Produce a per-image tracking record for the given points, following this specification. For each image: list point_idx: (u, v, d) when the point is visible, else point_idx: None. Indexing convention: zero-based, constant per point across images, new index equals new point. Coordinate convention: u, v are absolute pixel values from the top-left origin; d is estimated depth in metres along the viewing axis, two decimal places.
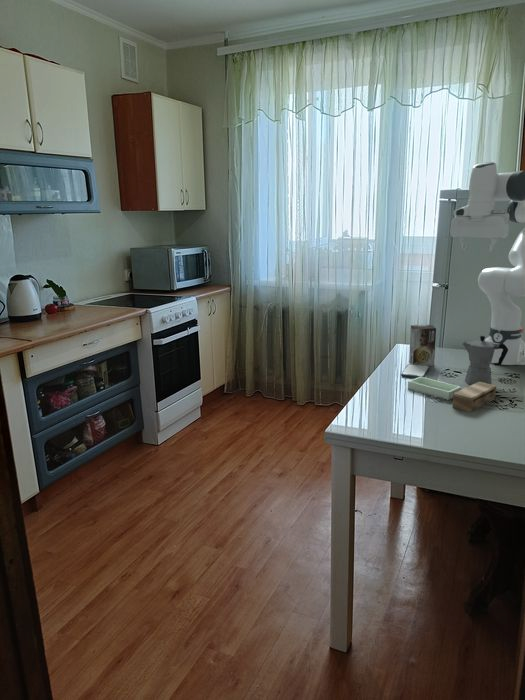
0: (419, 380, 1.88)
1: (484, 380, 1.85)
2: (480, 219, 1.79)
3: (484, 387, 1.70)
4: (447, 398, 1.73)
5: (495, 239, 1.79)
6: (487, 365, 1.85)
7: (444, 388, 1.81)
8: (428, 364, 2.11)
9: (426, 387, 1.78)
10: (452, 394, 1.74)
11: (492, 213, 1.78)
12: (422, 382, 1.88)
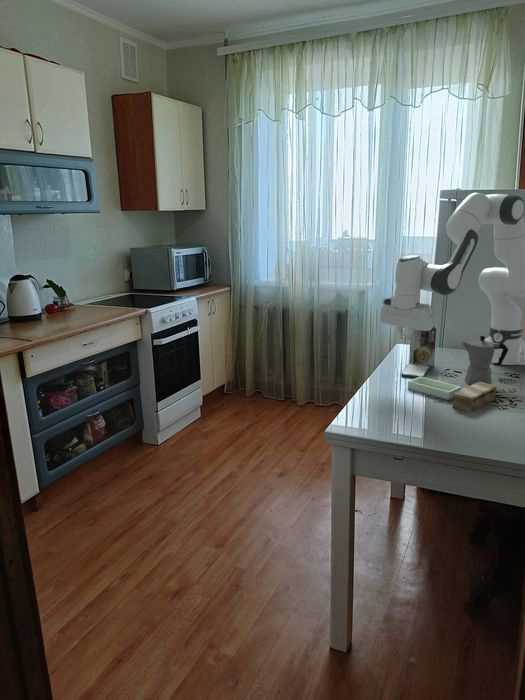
0: (419, 380, 1.88)
1: (484, 380, 1.85)
2: (406, 311, 1.80)
3: (484, 387, 1.70)
4: (447, 398, 1.73)
5: (412, 329, 1.83)
6: (487, 365, 1.85)
7: (444, 388, 1.81)
8: (428, 364, 2.11)
9: (426, 387, 1.78)
10: (452, 394, 1.74)
11: (417, 305, 1.79)
12: (422, 382, 1.88)
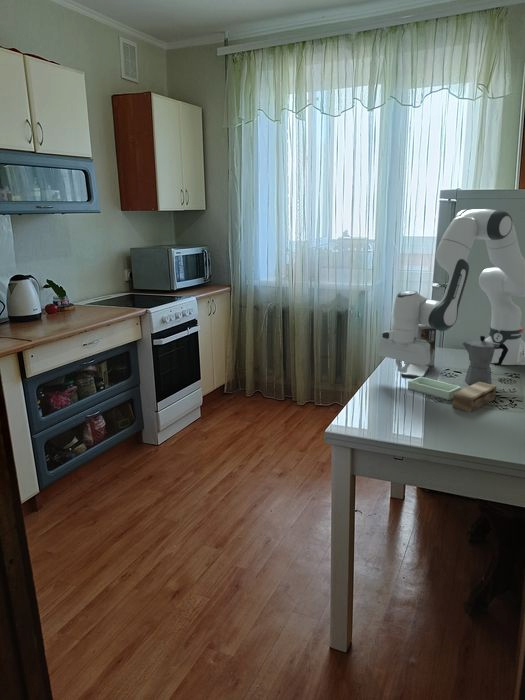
0: (419, 380, 1.88)
1: (484, 380, 1.85)
2: (403, 345, 1.84)
3: (484, 387, 1.70)
4: (447, 398, 1.73)
5: (408, 363, 1.86)
6: (487, 365, 1.85)
7: (444, 388, 1.81)
8: (428, 364, 2.11)
9: (426, 387, 1.78)
10: (452, 394, 1.74)
11: (414, 340, 1.82)
12: (422, 382, 1.88)
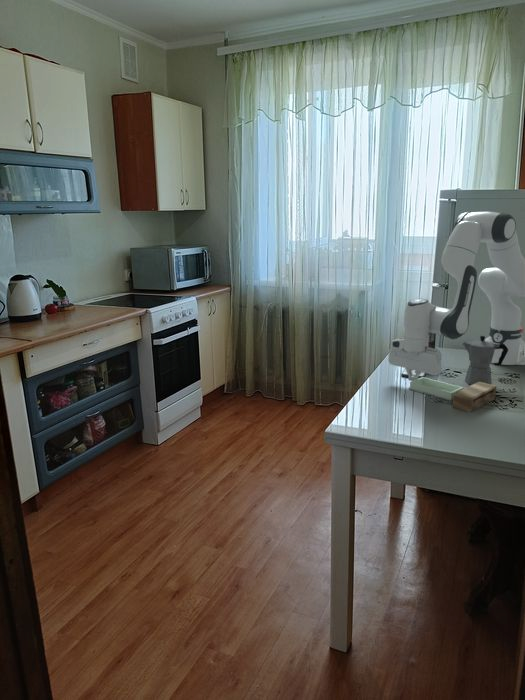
0: (421, 381, 1.87)
1: (484, 380, 1.85)
2: (414, 354, 1.81)
3: (484, 387, 1.70)
4: (449, 399, 1.72)
5: None
6: (487, 365, 1.85)
7: (446, 389, 1.81)
8: None
9: (428, 388, 1.78)
10: None
11: (425, 349, 1.80)
12: (424, 383, 1.87)
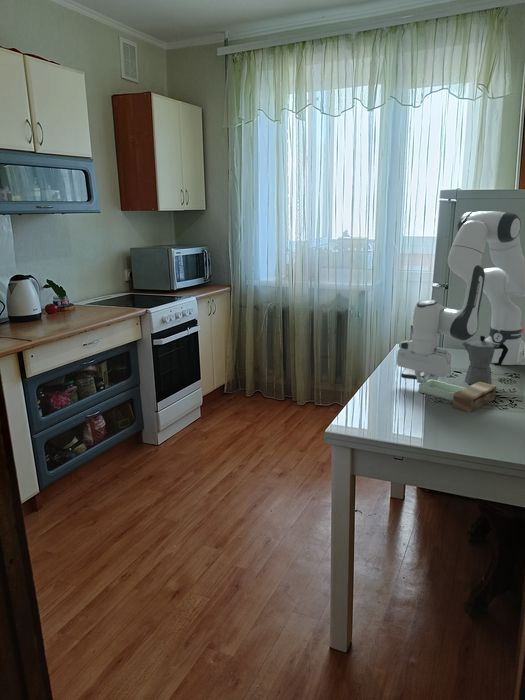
0: (430, 383, 1.84)
1: (484, 380, 1.85)
2: (423, 356, 1.79)
3: (484, 387, 1.70)
4: None
5: (428, 374, 1.81)
6: (487, 365, 1.85)
7: (456, 391, 1.78)
8: None
9: (438, 390, 1.75)
10: None
11: (435, 351, 1.77)
12: (433, 385, 1.85)
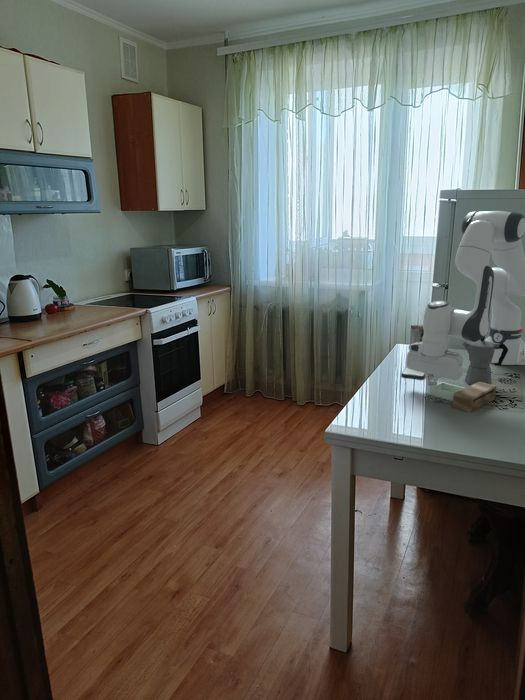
0: (441, 386, 1.81)
1: (484, 380, 1.85)
2: (434, 358, 1.75)
3: (484, 387, 1.70)
4: None
5: (438, 376, 1.78)
6: (487, 365, 1.85)
7: None
8: None
9: (449, 393, 1.72)
10: None
11: (446, 353, 1.74)
12: (444, 388, 1.81)
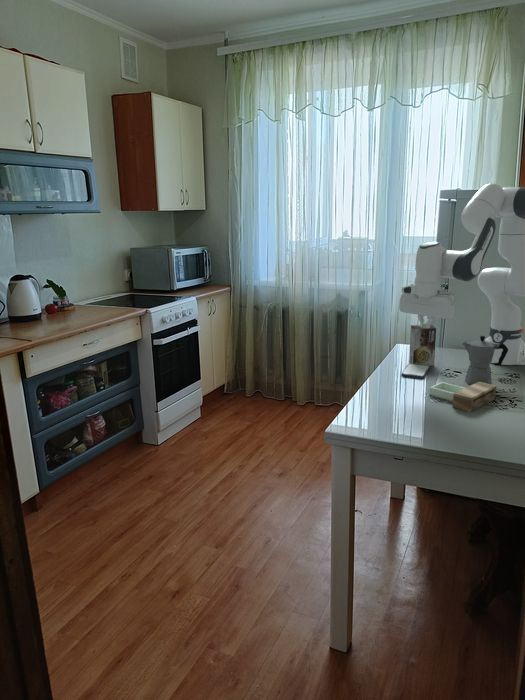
0: (441, 386, 1.81)
1: (484, 380, 1.85)
2: (426, 299, 1.77)
3: (484, 387, 1.70)
4: None
5: (431, 317, 1.80)
6: (487, 365, 1.85)
7: None
8: (428, 364, 2.11)
9: (449, 393, 1.72)
10: None
11: (438, 293, 1.76)
12: (444, 388, 1.81)
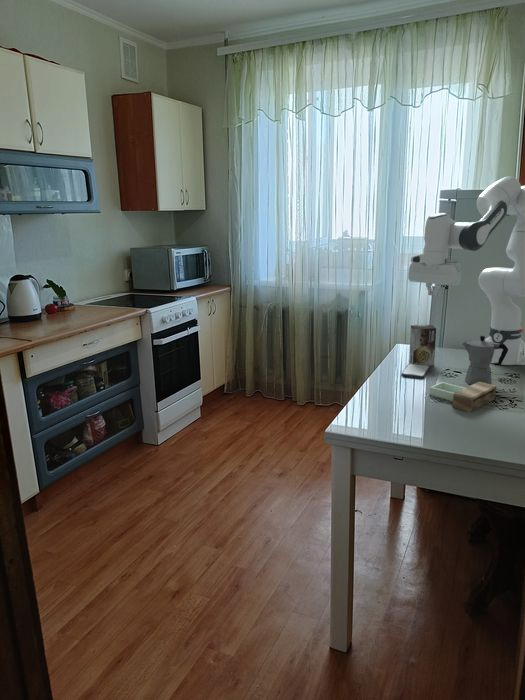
0: (441, 386, 1.81)
1: (484, 380, 1.85)
2: (434, 267, 1.88)
3: (484, 387, 1.70)
4: None
5: (439, 285, 1.90)
6: (487, 365, 1.85)
7: None
8: (428, 364, 2.11)
9: (449, 393, 1.72)
10: None
11: (445, 261, 1.86)
12: (444, 388, 1.81)
